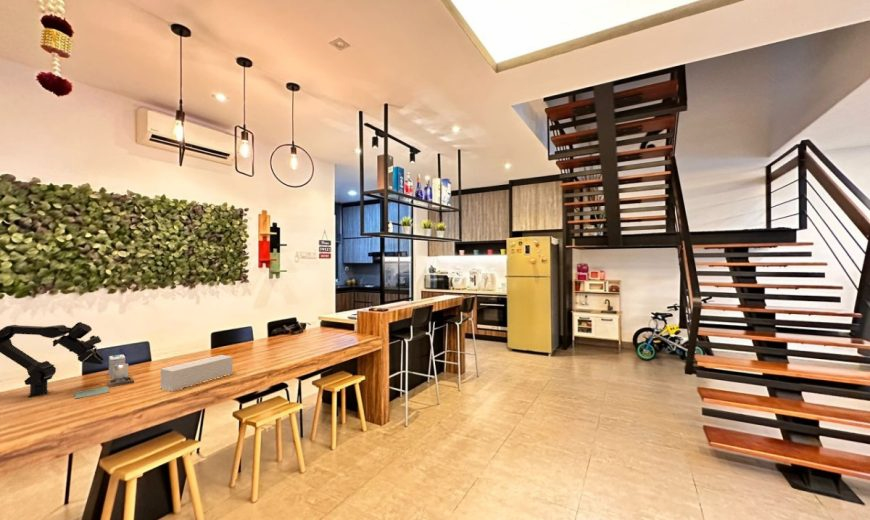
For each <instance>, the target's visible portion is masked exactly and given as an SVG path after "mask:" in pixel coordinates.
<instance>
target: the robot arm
mask: <svg viewBox="0 0 870 520" xmlns="http://www.w3.org/2000/svg"><path fill="white" fill-rule="evenodd" d="M91 331H92V327H91V326H90V325H88V324H86V323H83V322H81V321H79V322H77V323H75V324H74V325H73V326H72V327H69V326H66V325H65V324H58V325H48V326H38V325H37V326H36V325H35V326H34V325H18V324H12V325H6V326H5V327H3V328H1V329H0V354H1V355H4V356H5V357H6V358H7V359H10V360H11V361H13V362H14V363H16V364H17V365H19V366H21V367H22V368H24V369H25V370H26V371H27V375H28V377H27V378H26V379H25V380H24V384H25V385H26V386H29V393H28V398H32V396H33V397H37V396H43V395H49V389H48V381H49V380H52V379H53V376H54V375H55V374H56V370H57V368H56V367H55V364H52V363H50V361H48V360H45V361H42V362H40V361H38V360H37V359H35V358H34V357H32V356H30V355H28V354H27V353H26V352H24V351H23V350H21V349H20V348H18V347H16V346H15V345H13V342H12V338H13V337H15V335H35V336H40V337H43V338H48V339H54V340H53V341H52V347H56V346H57V345H58V344H59V345H60V346H62V347H64V348H65V349H67V350H68V351H69V352H70V353H73V354H75V355H76V356H77V361H79V362H81V363H89V364H96V365H103V363H104V362H103V361H104V360H105V359H104V358H103V357H102V356H101V354H99V352H98V351H97V345H96V344H99V343H102V340H101V337H100V336H99V335H97V336H96V335H91V336H89V339H87V340H85V341H84V340H80V339H82V338H83V337H85V336H86V335H87V334H89V333H90V332H91ZM55 338H58V339H55Z"/></svg>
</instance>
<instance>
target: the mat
mask: <svg viewBox="0 0 870 520" xmlns="http://www.w3.org/2000/svg"><path fill="white" fill-rule="evenodd" d="M108 392H109V393H110V388H109V386H108V385H107V386H102V387H96V388H91V389H85V390H81V391H75V392H74V397H75V400H78V399H77V398H79V399H83V398H82V397H84V398H89V397H93V395H94V396H99V395H103V394H102V393H104V394H108ZM98 394H99V395H98ZM88 396H89V397H88Z"/></svg>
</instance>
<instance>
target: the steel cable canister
mask: <svg viewBox="0 0 870 520" xmlns="http://www.w3.org/2000/svg"><path fill="white" fill-rule="evenodd" d="M128 377H129V363H126V362H125V364H118V365H114V376H113V377H112V378H113V379H112V380H113V383H112V384H114V383H119V382H125V381H129V380H128Z"/></svg>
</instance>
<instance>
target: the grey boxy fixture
mask: <svg viewBox="0 0 870 520" xmlns="http://www.w3.org/2000/svg"><path fill="white" fill-rule="evenodd" d="M125 363H126V356H125V355H124V354H123V353H122V354H115V355H110V356H109V355H108V377H109V378H110V379H111V378H113V376H114V365H118V364H125Z"/></svg>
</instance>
